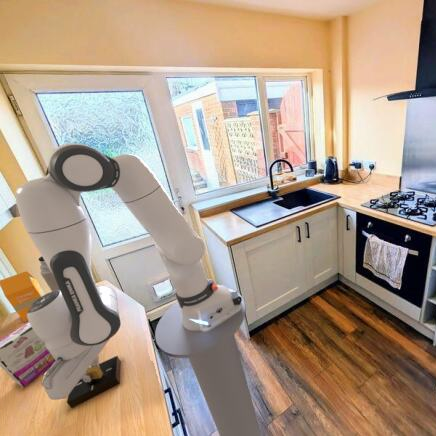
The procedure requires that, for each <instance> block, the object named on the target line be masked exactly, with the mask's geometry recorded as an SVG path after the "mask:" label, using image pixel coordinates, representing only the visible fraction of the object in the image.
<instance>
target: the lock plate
mask: <svg viewBox="0 0 436 436" xmlns="http://www.w3.org/2000/svg"><path fill="white" fill-rule="evenodd" d="M98 364H99V366H100V369H101V371H102V372H103V375H102V377H101V378H99V379H92V380H91V381H90V382H84V380H83V379H80V380H79V382H78V383H77V384H76V386H75V387H74V388H73V390H72V391H71V392H70V394H69V395H68V396H67V399H66V403H67V404H68V406H69V408H70V409H74V408H76V407H78V406H80V405H82V404H83V403H86V402H88V401H89V400H91V399H93V398H95V397H98V396H99V395H101V394H104V393H105V392H107V391H109V390H111V389H113V388H115V387H117V386H119V385H120V384H121V369H122V368H121V367H122V361H121V359H120V357H119V355H115V356H113V357H111V358H109V359H107V360H105V361H103V362H101V363H98Z"/></svg>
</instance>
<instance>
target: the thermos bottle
mask: <svg viewBox="0 0 436 436" xmlns="http://www.w3.org/2000/svg"><path fill="white" fill-rule="evenodd" d="M38 261H39V263H40V265H39V270H40V272H39V273H40V275H41V277H42V279H44V280H43V281H44V282H45V283H46V284H47V287H49V289H50V292H53V291H58V290H59V291H60V289H59V287H58V284H57V282H56V280H55V277H54V275H53V274H52V272H51V271H50V269H49V267H48V266H47V264H46V262H45V260H44V259H43V257H42V256H40V257H38Z"/></svg>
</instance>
